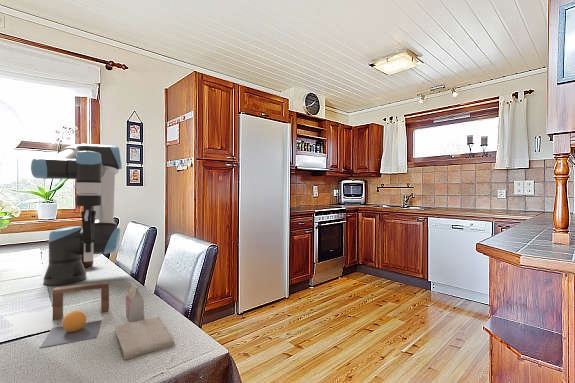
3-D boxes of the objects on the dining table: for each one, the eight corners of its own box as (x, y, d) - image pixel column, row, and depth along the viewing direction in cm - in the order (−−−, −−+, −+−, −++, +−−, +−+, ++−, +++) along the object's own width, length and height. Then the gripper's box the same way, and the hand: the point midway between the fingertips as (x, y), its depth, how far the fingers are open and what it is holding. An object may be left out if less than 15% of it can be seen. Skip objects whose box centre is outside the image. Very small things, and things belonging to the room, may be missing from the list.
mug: (85, 265, 160) (85, 246, 160) (99, 266, 158) (99, 246, 158) (64, 270, 148) (64, 250, 148) (78, 271, 146) (79, 250, 146)
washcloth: (158, 323, 90) (158, 313, 90) (176, 347, 76) (176, 335, 76) (112, 334, 83) (112, 323, 83) (123, 364, 68) (123, 350, 68)
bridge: (55, 317, 93) (55, 287, 93) (109, 309, 99) (109, 281, 99) (52, 320, 90) (52, 290, 90) (108, 312, 97) (108, 283, 97)
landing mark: (52, 328, 85) (52, 328, 85) (101, 320, 90) (101, 320, 90) (39, 348, 74) (39, 347, 74) (96, 337, 80) (96, 337, 80)
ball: (59, 329, 79) (62, 337, 82) (84, 325, 81) (86, 332, 85) (62, 309, 82) (65, 317, 86) (86, 305, 85) (88, 313, 88)
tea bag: (138, 313, 96) (138, 281, 96) (143, 319, 91) (144, 287, 91) (125, 315, 94) (126, 284, 94) (130, 323, 89) (130, 289, 89)
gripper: (79, 194, 111) (79, 258, 111) (72, 195, 99) (72, 266, 99) (103, 194, 114) (102, 256, 114) (99, 194, 102) (98, 263, 102)
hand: (88, 260), depth 107 cm, fingers closed
